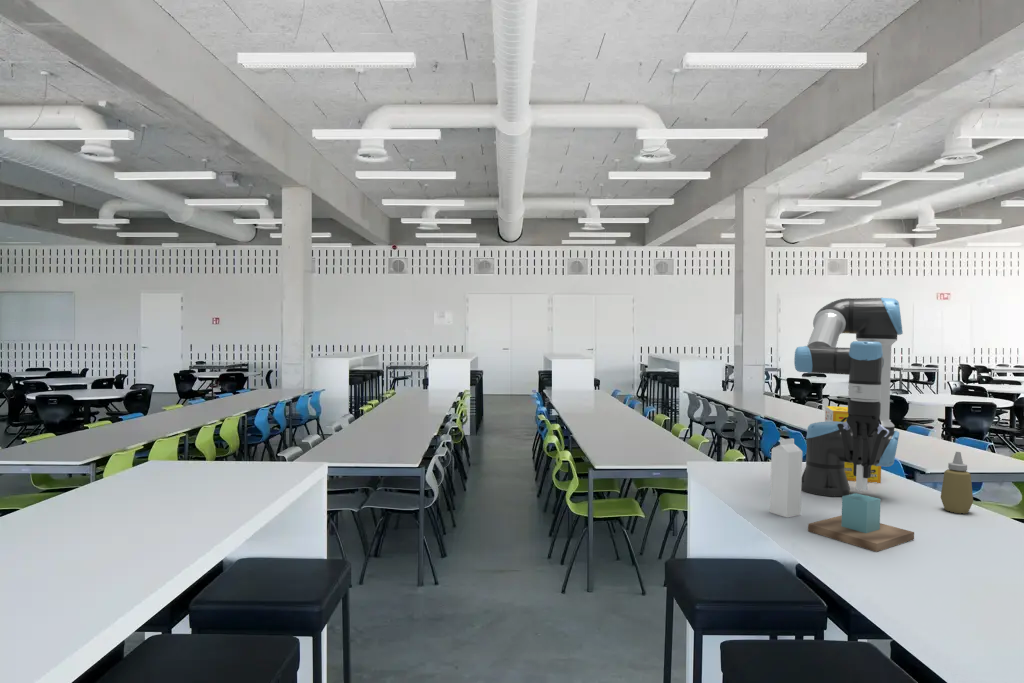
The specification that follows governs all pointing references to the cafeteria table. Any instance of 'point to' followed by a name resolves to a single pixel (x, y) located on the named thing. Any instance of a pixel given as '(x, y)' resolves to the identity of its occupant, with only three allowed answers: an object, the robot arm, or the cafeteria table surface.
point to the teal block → (861, 513)
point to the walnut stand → (861, 534)
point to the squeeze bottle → (957, 487)
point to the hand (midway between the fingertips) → (861, 489)
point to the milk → (786, 479)
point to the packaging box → (841, 415)
